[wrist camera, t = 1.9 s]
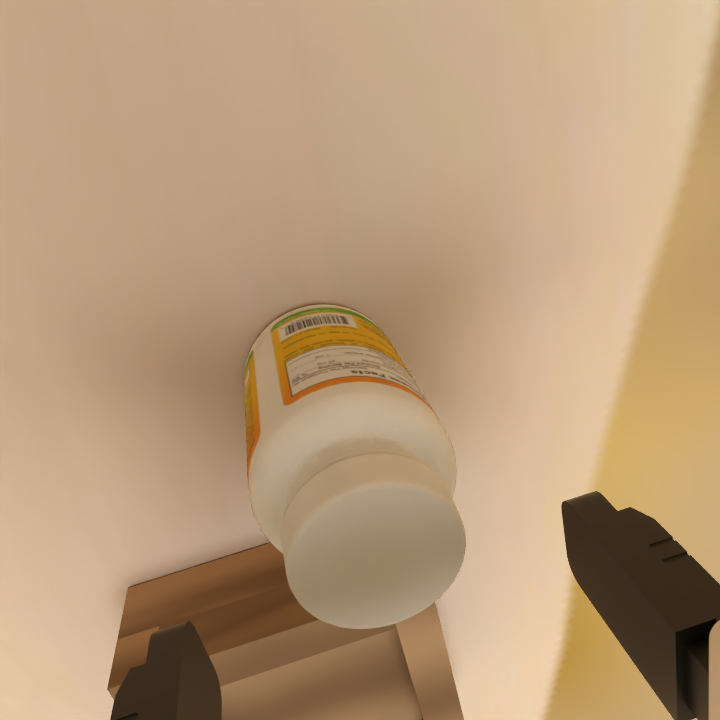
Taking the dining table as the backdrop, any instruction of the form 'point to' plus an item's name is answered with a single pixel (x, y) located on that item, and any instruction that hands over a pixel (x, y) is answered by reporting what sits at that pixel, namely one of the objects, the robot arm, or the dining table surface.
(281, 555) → the wooden open box
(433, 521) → the supplement bottle
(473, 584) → the dining table surface
